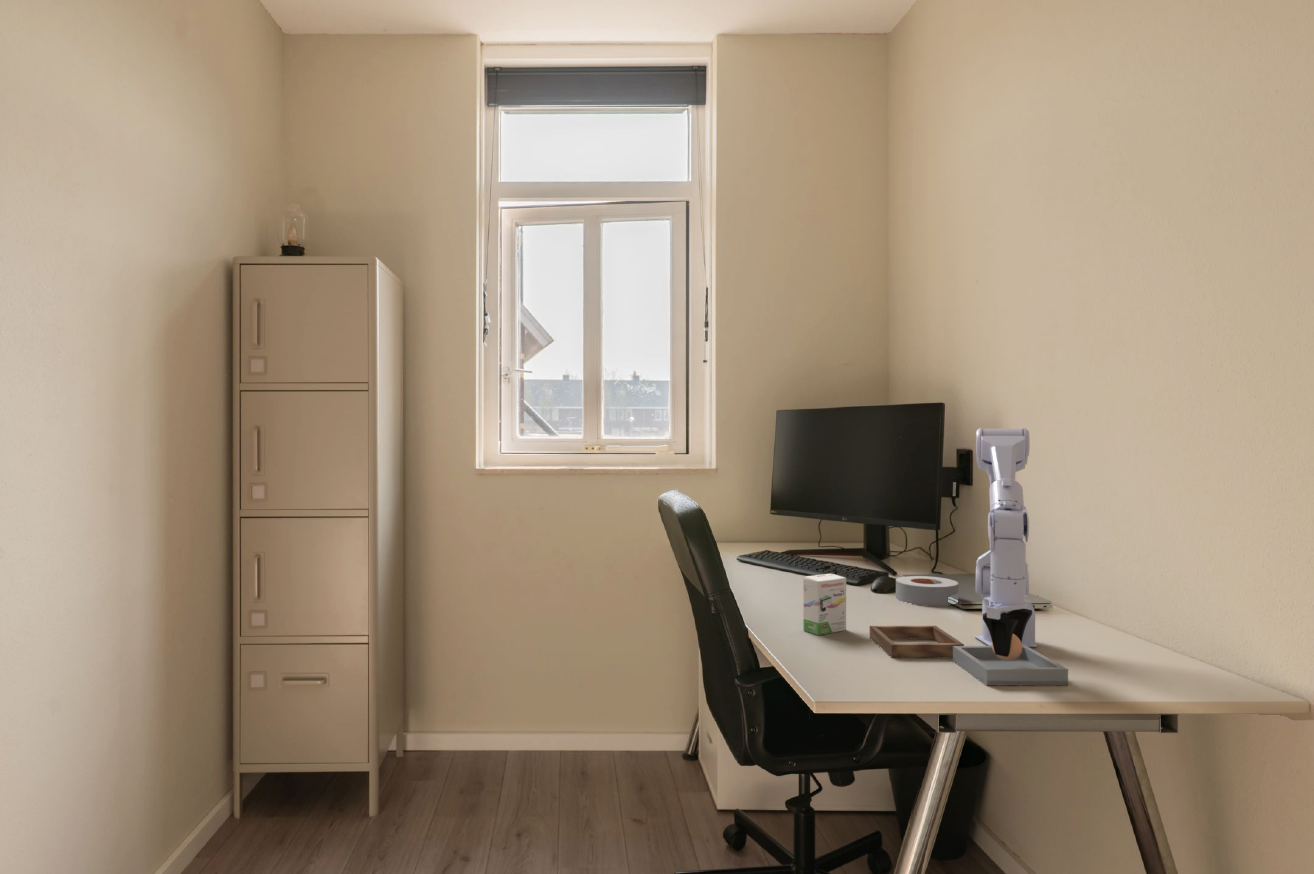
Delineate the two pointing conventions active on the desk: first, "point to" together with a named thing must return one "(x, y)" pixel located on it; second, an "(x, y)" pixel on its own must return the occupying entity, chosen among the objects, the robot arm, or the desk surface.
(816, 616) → the ink box
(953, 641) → the square wooden frame
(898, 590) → the tape roll
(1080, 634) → the desk surface
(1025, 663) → the tray
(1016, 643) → the ball
